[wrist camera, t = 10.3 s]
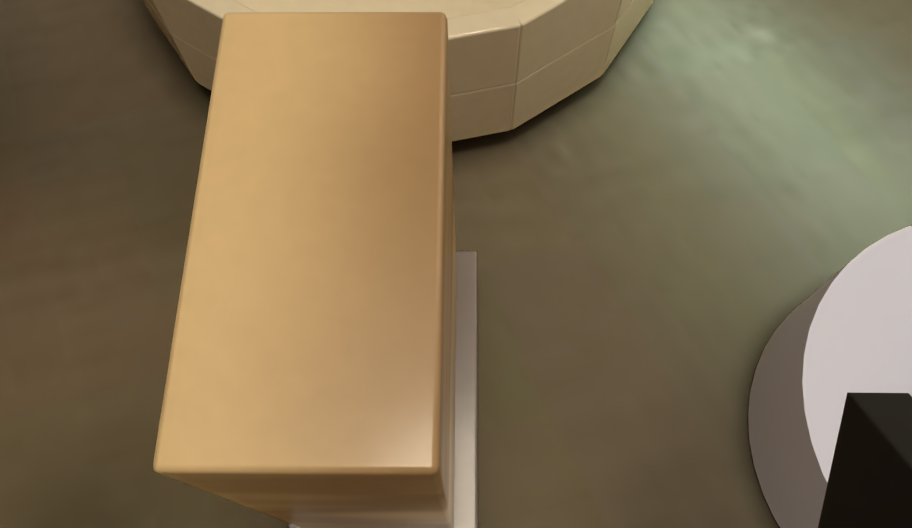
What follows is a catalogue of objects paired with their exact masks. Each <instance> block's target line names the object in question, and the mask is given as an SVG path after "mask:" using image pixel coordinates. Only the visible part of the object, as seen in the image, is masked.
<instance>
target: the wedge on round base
mask: <svg viewBox="0 0 912 528" xmlns="http://www.w3.org/2000/svg"><path fill="white" fill-rule="evenodd" d="M847 392H850V393H909V394H910V395H911V396H912V225H911V226H909V227H906V228H904V229H901V230H899V231H896V232H894V233H891V234H889V235H887V236H885V237H884V238H882V239H880V240H879V241H877V242H875V243H874V244H872V245H870V246H869V247H867V248H866V249H865V250H863V251H862V252H861V253H860V254H859V255H857V256H856V257H855V258H854V259H853V260H852V261H850V262H849V263H848V264H847V265H846V266H844V267H843V268H842V269H841V270H840V271H839V272H837V273H836V274H835V275H834V276H833V277H832V278H831V279H829V280H828V281H827V282H826V283H825V284H824V285H822V286H821V287H820V288H819V289H818V290H817V291H815V292H814V293H813V294H812V295H811V296H810V297H808V298H807V299H806V300H805V301H804V302H803V303H801V304H800V305H799V306H798V307H797V308H796V309H794V310H793V311H792V312H791V313H790V314H789V315H788V316H787V317H786V318H785V320H784V321H783V322H782V323H781V324H780V325H779V327H778V328H777V329H776V330H775V332H774V333H773V335H772V337H771V338H770V340H769V341H768V343H767V345H766V346H765V348H764V350H763V352H762V355H761V357H760V360H759V362H758V365H757V367H756V370H755V374H754V378H753V382H752V386H751V390H750V399H749V410H748V426H749V442H750V447H751V453H752V458H753V463H754V468H755V471H756V474H757V477H758V480H759V483H760V486H761V489H762V493H763V495H764V497H765V499H766V501H767V503H768V506H769V508H770V510H771V512H772V514H773V516H774V518H775V520H776V522H777V523H778V525H779V527H780V528H818V525H819V520H820V516H821V511H822V506H823V502H824V497H825V493H826V488H827V483H828V479H829V474H830V470H831V465H832V460H833V456H834V451H835V447H836V442H837V437H838V433H839V428H840V424H841V419H842V414H843V410H844V405H845V401H846V396H847Z"/></svg>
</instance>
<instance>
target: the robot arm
mask: <svg viewBox="0 0 912 528" xmlns="http://www.w3.org/2000/svg"><path fill="white" fill-rule="evenodd" d="M818 528H912V396H911V395H910V394H909V393H850V392H847V396H846V401H845V405H844V410H843V414H842V419H841V424H840V428H839V433H838V437H837V442H836V447H835V451H834V456H833V460H832V465H831V470H830V474H829V479H828V483H827V488H826V493H825V497H824V502H823V506H822V511H821V516H820V520H819V525H818Z"/></svg>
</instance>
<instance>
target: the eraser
mask: <svg viewBox="0 0 912 528" xmlns="http://www.w3.org/2000/svg"><path fill="white" fill-rule="evenodd" d="M153 468H154V471H155V472H157V473H159V474H162V475H164V476H167V477H170V478H172V479H175V480H177V481H180V482H183V483H185V484H188V485H191V486H193V487H196V488H198V489H201V490H204V491H206V492H209V493H212V494H214V495H217V496H220V497H222V498H225V499H227V500H230V501H233V502H235V503H238V504H241V505H243V506H246V507H248V508H251V509H254V510H256V511H259V512H262V513H264V514H267V515H269V516H272V517H275V518H277V519H280V520H283V521H285V522H288V523H289V525H288V528H478V350H477V252H476V251H456V246H455V218H454V190H453V162H452V134H451V106H450V78H449V50H448V22H447V17H446V15H445V13H442V12H236V13H226V14H225V15H224V16H223V22H222V28H221V34H220V41H219V47H218V53H217V60H216V66H215V73H214V79H213V85H212V92H211V98H210V104H209V111H208V117H207V124H206V130H205V136H204V143H203V149H202V155H201V162H200V168H199V175H198V181H197V187H196V194H195V200H194V206H193V213H192V219H191V225H190V232H189V238H188V245H187V251H186V257H185V264H184V270H183V276H182V283H181V289H180V296H179V302H178V308H177V315H176V321H175V327H174V334H173V340H172V347H171V353H170V359H169V366H168V372H167V378H166V385H165V391H164V398H163V404H162V410H161V417H160V423H159V429H158V436H157V442H156V448H155V455H154V461H153Z"/></svg>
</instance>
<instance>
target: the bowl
mask: <svg viewBox="0 0 912 528" xmlns="http://www.w3.org/2000/svg"><path fill="white" fill-rule="evenodd" d="M143 2H144V4H145V5H146V7H147V9H148V11H149V12H150V14H151V15H152V17H153V18H154V20H155V21H156V23H157V24H158V26H159V27H160V29H161V30H162V32H163V33H164V35H165V36H166V38H167V39H168V41H169V42H170V44H171V45H172V47H173V48H174V50H175V51H176V53H177V54H178V56H179V57H180V59H181V60H182V62H183V63H184V65H185V66H186V68H187V69H188V71H189V72H190V73H191V75H192V76H193V78H194V79H195V81H197V82H198V83H199V84H200V85H202V86H204V87H205V88H207V89H209V90H211V91H212V85H213V79H214V73H215V66H216V60H217V53H218V47H219V41H220V34H221V28H222V22H223V16H224V15H225V14H226V13H236V12H442V13H445V15H446V17H447V22H448V50H449V78H450V106H451V134H452V141H458V140H463V139H468V138H473V137H479V136H484V135H489V134H494V133H500V132H505V131H510V130H513V129H515V128H516V127H518V126H520V125H521V124H523V123H525V122H526V121H528V120H530V119H531V118H533V117H535V116H536V115H538V114H540V113H541V112H543V111H544V110H546V109H548V108H549V107H551V106H553V105H554V104H556V103H558V102H559V101H561V100H563V99H564V98H566V97H568V96H569V95H571V94H573V93H574V92H576V91H577V90H579V89H581V88H582V87H584V86H586V85H587V84H589V83H591V82H592V81H594V80H596V79H597V78H599V77H601V76H602V74H603V73H604V72H605V71H606V69H607V68H608V66H609V65H610V64H611V62H612V61H613V59H614V58H615V56H616V55H617V54H618V52H619V51H620V49H621V48H622V46H623V45H624V43H625V42H626V41H627V39H628V38H629V36H630V35H631V33H632V32H633V30H634V29H635V28H636V26H637V25H638V23H639V22H640V20H641V19H642V18H643V16H644V15H645V13H646V12H647V10H648V9H649V7H650V6H651V5H652V3H653V2H654V0H143Z"/></svg>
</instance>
